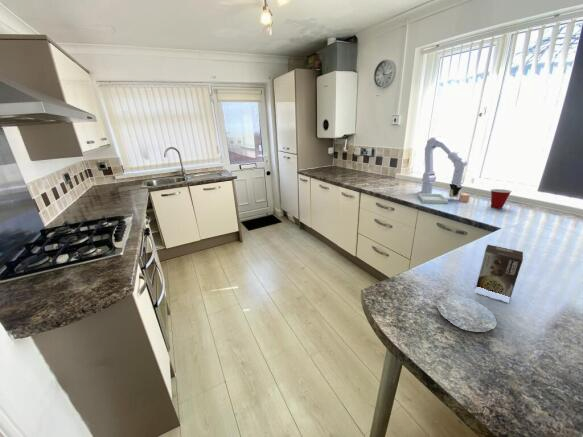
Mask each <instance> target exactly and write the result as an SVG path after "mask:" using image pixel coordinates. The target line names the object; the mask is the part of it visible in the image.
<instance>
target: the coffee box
mask: <svg viewBox="0 0 583 437" xmlns="http://www.w3.org/2000/svg"><path fill="white" fill-rule="evenodd" d="M523 260H524V252H523V251H520V250H516V249H512V248H511V249H510V248H505V247H501V246H497V245H491V244H487V245H486V248H485V251H484V255H483V258H482V263H481V266H480V270H479V274H478V277H477V282H476V284H477V285H475V287H476V286H477V287H481V288H484V289H486V290H488V291H492V292H495V293H499V294H502V295H505V296H508V297H511V298H512V294H513V292H514V288H515V285H516V283H517V279H518V277H519V276H518V275H519V273H520V270H521V266H522V264H523V262H524V261H523Z"/></svg>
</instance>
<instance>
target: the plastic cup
mask: <svg viewBox="0 0 583 437" xmlns="http://www.w3.org/2000/svg"><path fill="white" fill-rule="evenodd" d="M490 192H491V193H490V194H491V197H490V198H491V199H490V202H491V204H490V207H491V208H494V209H499V210H500V209H502V208H503V207H504V205H505V204H506V202H507V200H508V198H509V196H510V195H511V193H512V190H509V189H500V188H499V189H498V188H493V189H490Z"/></svg>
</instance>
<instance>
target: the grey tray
mask: <svg viewBox="0 0 583 437" xmlns="http://www.w3.org/2000/svg"><path fill="white" fill-rule="evenodd" d="M417 197H418V198H419V200H420V202H422V203H423V204H440V205H441V204H442V205H447V204H449V199H447V197H445V196H444V195H443V194H442V193H432V194H424V193H420V192H419V193H418V194H417Z"/></svg>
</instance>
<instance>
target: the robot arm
mask: <svg viewBox="0 0 583 437" xmlns="http://www.w3.org/2000/svg"><path fill="white" fill-rule="evenodd" d="M436 148H440V149H442V151H444V152H445V153H446V154H447V158H448V159H449V160H450V161H451V162H452V164H453V167H454V171H453V175H452V180H451V181H450V184H449V188H450V189H453V196H457V194H458V192H460V190H461V189H462V188H463V187H462V184H463V182H462V180H463V176H464V175H463V174H464V170H465V167H466V166H467V164H468V163H467V160H466V159H464V158H463V157H461V156H460V155H459V153H458V152H457V151H453V149H451V148H450V146H449V145H448V144H447V143H446V140H444V139H443V138H442V137H441V136H438V137H430V138H429V139H428V140H427V141H426V145H425V147H424V173H422V178H421V182H422V185H421V191H419V193H424V194H433V193H432V192H433V188H434V182H435V181H436V180H437V176H436V172H435V171H434V151H435V149H436ZM458 195H459V194H458Z"/></svg>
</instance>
